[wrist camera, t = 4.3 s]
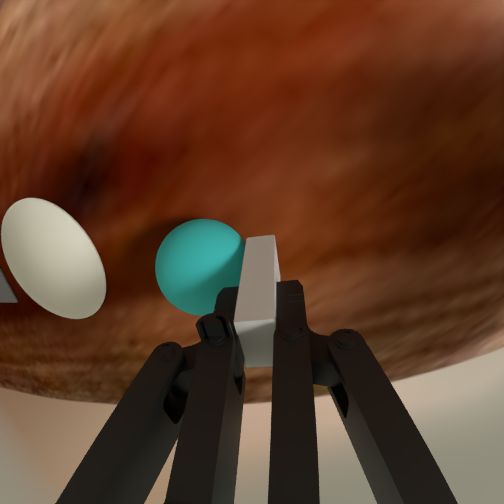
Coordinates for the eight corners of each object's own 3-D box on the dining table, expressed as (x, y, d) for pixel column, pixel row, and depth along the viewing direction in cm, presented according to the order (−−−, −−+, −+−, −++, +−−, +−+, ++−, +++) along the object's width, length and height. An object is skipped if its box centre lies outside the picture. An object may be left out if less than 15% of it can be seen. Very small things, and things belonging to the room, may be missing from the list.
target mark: (72, 182, 19) (70, 183, 18) (127, 317, 24) (127, 319, 24) (-14, 212, 20) (-15, 213, 20) (37, 316, 26) (36, 317, 26)
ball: (263, 209, 16) (184, 261, 13) (276, 293, 19) (214, 350, 16) (196, 199, 20) (125, 238, 16) (214, 270, 23) (155, 313, 19)
